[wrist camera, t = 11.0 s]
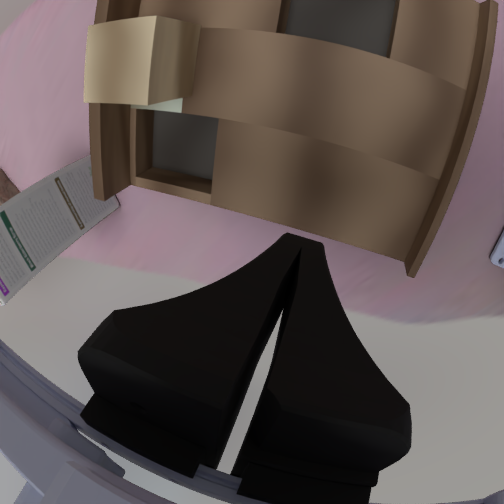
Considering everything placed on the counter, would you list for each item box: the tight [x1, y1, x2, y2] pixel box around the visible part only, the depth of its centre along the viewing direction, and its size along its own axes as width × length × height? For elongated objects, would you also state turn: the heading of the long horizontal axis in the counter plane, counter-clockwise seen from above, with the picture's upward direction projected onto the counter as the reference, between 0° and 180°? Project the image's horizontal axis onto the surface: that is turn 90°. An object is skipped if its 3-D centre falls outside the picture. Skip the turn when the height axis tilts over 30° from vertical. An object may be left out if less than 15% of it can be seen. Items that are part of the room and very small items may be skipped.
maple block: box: [84, 15, 201, 106], centre depth 13 cm, size 4×4×4 cm
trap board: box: [89, 0, 498, 278], centre depth 14 cm, size 22×17×6 cm
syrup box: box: [0, 155, 119, 306], centre depth 20 cm, size 6×6×14 cm
